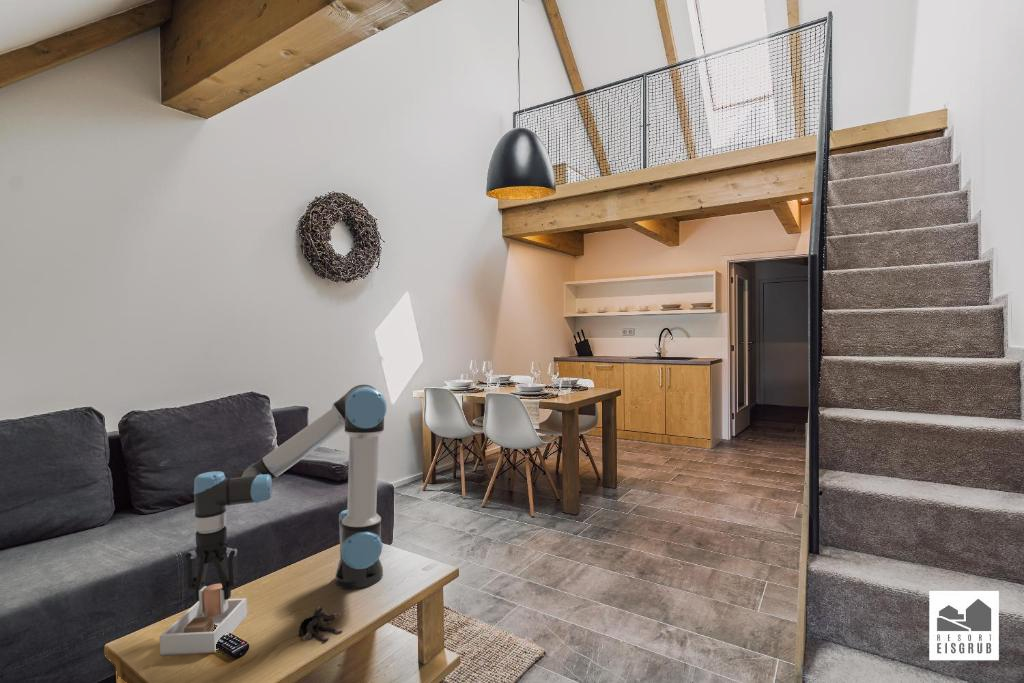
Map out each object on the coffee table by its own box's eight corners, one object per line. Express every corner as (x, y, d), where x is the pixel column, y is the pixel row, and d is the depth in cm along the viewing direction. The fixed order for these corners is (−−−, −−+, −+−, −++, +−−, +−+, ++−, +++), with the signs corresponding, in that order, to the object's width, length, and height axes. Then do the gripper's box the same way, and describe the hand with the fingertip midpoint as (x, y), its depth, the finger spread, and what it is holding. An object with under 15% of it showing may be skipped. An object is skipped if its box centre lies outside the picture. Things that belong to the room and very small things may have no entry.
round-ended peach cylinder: (219, 617, 142) (218, 592, 142) (200, 617, 142) (199, 593, 142) (228, 607, 147) (227, 583, 147) (210, 608, 147) (209, 584, 147)
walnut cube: (204, 645, 134) (203, 626, 134) (184, 647, 134) (183, 628, 134) (214, 634, 139) (213, 616, 139) (195, 636, 139) (194, 617, 139)
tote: (247, 615, 149) (246, 598, 149) (214, 652, 132) (214, 633, 132) (199, 617, 149) (198, 600, 149) (160, 655, 131) (159, 635, 131)
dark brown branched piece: (313, 645, 132) (294, 606, 138) (304, 668, 136) (286, 629, 142) (354, 625, 141) (334, 589, 147) (344, 646, 145) (325, 611, 151)
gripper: (250, 522, 148) (253, 602, 148) (186, 525, 147) (189, 605, 148) (237, 532, 141) (240, 616, 141) (169, 535, 140) (172, 620, 140)
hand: (214, 610), depth 144 cm, fingers closed on round-ended peach cylinder, 5 cm apart
